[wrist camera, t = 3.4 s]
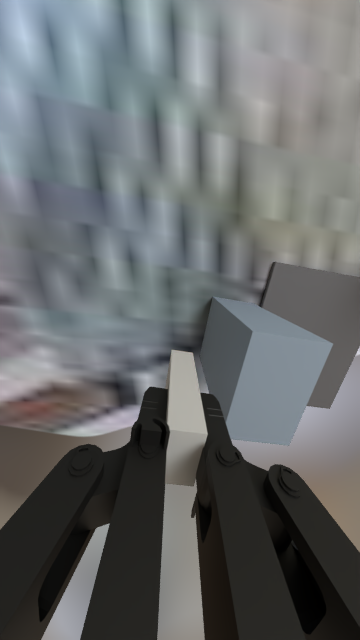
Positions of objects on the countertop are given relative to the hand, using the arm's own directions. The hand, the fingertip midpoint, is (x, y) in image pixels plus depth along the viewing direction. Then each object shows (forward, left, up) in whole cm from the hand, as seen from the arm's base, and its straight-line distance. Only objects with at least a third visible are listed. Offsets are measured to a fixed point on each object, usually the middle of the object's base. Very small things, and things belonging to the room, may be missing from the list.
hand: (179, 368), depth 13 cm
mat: (+17, 0, -10) cm, 19 cm away
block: (+6, 0, -10) cm, 12 cm away
